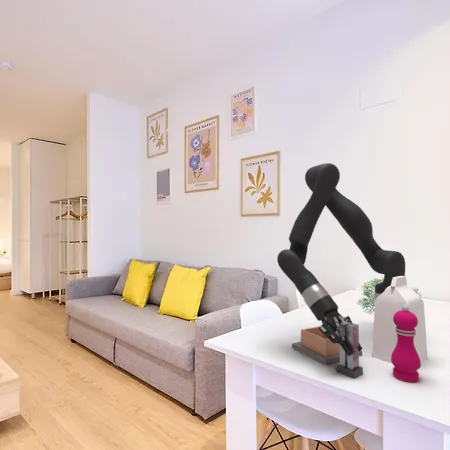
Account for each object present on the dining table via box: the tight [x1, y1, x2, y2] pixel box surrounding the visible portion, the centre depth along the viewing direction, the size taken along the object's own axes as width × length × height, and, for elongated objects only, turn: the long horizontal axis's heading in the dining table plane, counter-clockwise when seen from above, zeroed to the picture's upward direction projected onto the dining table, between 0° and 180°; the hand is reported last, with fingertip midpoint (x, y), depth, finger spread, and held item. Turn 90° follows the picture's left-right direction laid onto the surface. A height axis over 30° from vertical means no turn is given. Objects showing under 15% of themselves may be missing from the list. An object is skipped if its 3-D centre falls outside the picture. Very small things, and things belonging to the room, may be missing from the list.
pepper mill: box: [391, 305, 422, 383], centre depth 89 cm, size 7×7×20 cm
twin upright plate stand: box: [335, 322, 364, 380], centre depth 91 cm, size 4×6×14 cm
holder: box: [291, 325, 363, 366], centre depth 107 cm, size 16×16×6 cm
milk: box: [372, 275, 429, 364], centre depth 102 cm, size 12×12×26 cm
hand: (355, 352), depth 89 cm, fingers open, 3 cm apart
